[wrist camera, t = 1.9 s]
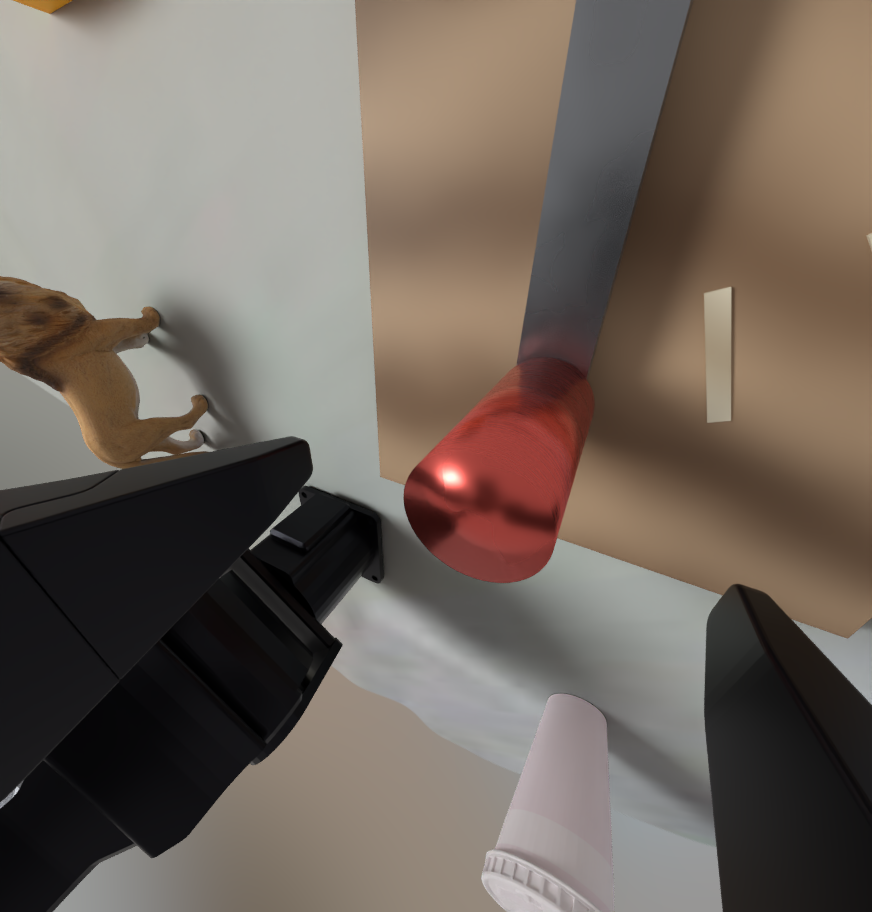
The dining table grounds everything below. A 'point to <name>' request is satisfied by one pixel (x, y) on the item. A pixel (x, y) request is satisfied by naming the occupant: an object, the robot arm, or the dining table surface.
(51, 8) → the pipe clamp
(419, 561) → the dining table surface
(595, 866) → the smoothie
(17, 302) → the lion figurine
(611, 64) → the lever
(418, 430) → the press board
